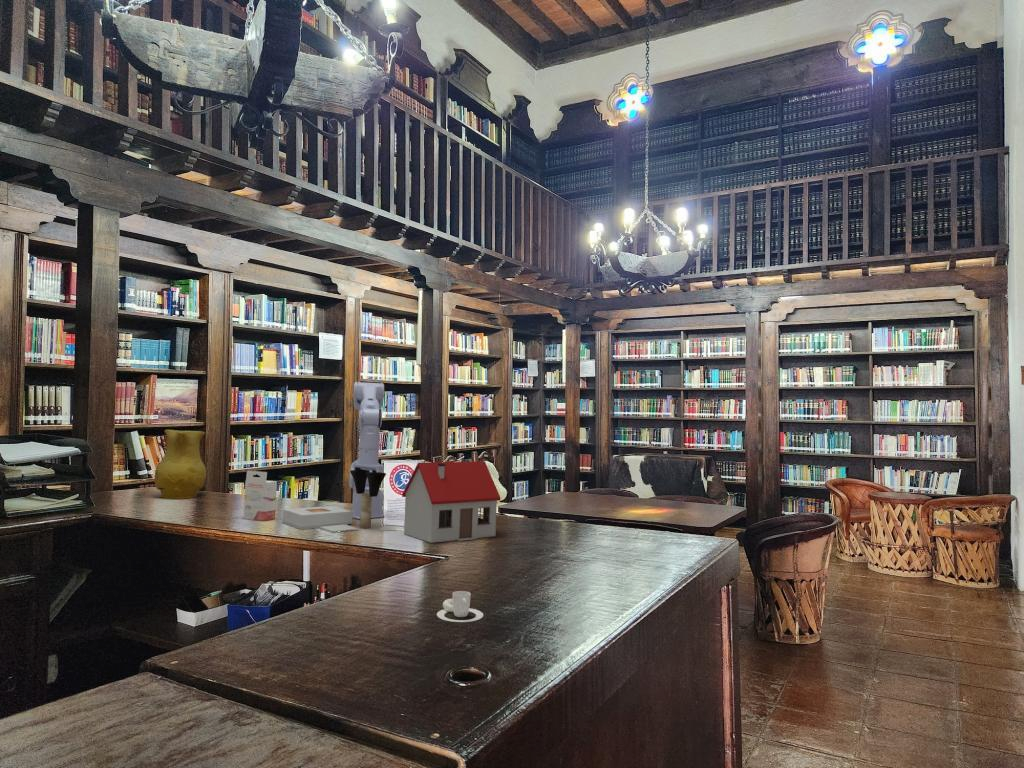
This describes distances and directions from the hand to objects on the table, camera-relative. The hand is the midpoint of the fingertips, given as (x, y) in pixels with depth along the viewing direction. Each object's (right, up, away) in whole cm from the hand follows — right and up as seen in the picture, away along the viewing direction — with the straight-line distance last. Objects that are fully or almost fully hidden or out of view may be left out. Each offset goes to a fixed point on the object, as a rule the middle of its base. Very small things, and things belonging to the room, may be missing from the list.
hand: (366, 495), depth 193 cm
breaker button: (-15, -7, +3) cm, 17 cm away
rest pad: (-7, -9, -5) cm, 12 cm away
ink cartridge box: (-35, -9, +8) cm, 37 cm away
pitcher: (-80, -9, +50) cm, 95 cm away
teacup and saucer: (+36, -8, -78) cm, 87 cm away
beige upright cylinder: (0, -10, 0) cm, 10 cm away
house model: (+25, -10, -8) cm, 28 cm away
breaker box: (-15, -9, +3) cm, 18 cm away
